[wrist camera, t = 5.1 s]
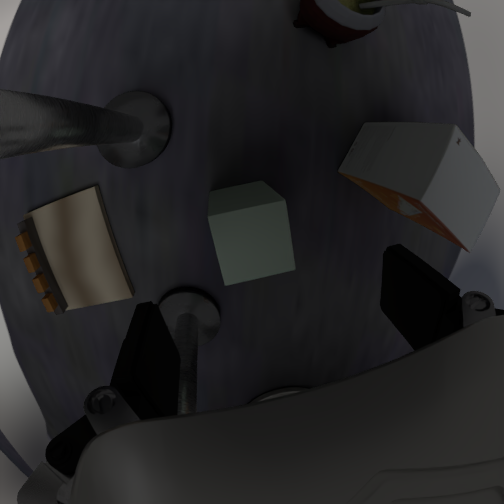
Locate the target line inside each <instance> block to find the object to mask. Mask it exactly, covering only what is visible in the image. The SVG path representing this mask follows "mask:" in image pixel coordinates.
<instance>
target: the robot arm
mask: <svg viewBox="0 0 504 504" xmlns="http://www.w3.org/2000/svg"><path fill="white" fill-rule="evenodd" d="M459 294H460V289H459V288H458V287H457V286H455V285H454V284H453V283H452V282H450V281H449V280H448V279H447V278H445V277H444V276H443V275H442V274H440V273H439V272H438V271H436V270H435V269H434V268H432V267H431V266H430V265H428V264H427V263H426V262H424V261H423V260H422V259H420V258H419V257H418V256H416V255H415V254H414V253H412V252H411V251H409V250H408V249H407V248H405V247H404V246H402V245H401V244H396V245H392V246H389V247H387V248H386V251H384V253H383V271H382V287H381V300H380V306H381V309H382V311H383V312H384V314H385V315H386V316H387V317H388V318H389V319H390V321H391V322H392V323H393V324H394V326H395V327H396V328H397V329H398V330H399V332H400V333H401V334H402V335H403V337H404V338H405V339H406V340H407V342H408V343H409V344H410V345H411V347H412V348H413V349H414V350H415V351H413V352H411V353H409V354H406V355H404V356H402V357H399V358H397V359H394V360H392V361H390V362H387V363H384V364H382V365H379V366H377V367H374V368H371V369H369V370H366V371H363V372H361V373H358V374H355V375H352V376H349V377H346V378H343V379H340V380H337V381H334V382H331V383H328V384H324V385H321V386H318V387H314V388H311V389H307V388H301V387H289V388H281V389H277V390H273V391H270V392H268V393H265V394H263V395H261V396H259V397H257V398H256V399H254V400H253V401H252V402H250V403H249V404H244V405H239V406H233V407H228V408H222V409H216V410H210V411H203V412H197V413H189V414H182V415H177V414H178V395H179V379H180V365H181V358H180V354H179V351H178V349H177V347H176V345H175V343H174V341H173V338H172V336H171V334H170V332H169V330H168V327H167V325H166V323H165V320H164V318H163V316H162V314H161V311H160V309H159V307H158V305H157V304H153V303H152V302H151V301H150V302H145V303H140V304H137V306H136V309H135V312H134V314H133V317H132V320H131V323H130V326H129V329H128V332H127V335H126V338H125V339H124V341H123V344H122V347H121V350H120V353H119V356H118V359H117V362H116V366H115V369H114V372H113V376H112V379H111V383H110V386H101V387H98V388H96V389H94V390H93V391H91V392H90V393H89V394H88V395H87V397H86V398H85V401H84V406H83V408H84V412H85V414H86V415H84V416H83V417H82V418H80V419H79V420H78V421H76V422H75V423H74V424H72V425H71V426H70V427H68V428H67V429H66V430H64V431H63V432H62V433H60V434H59V435H58V436H56V437H55V438H53V439H52V440H51V441H50V442H49V444H48V446H47V448H46V459H47V461H46V463H43V462H41V463H40V464H39V465H38V467H37V468H36V469H35V471H34V472H33V473H32V475H31V476H30V477H29V478H28V480H27V481H26V483H25V484H24V485H23V486H22V488H21V489H20V490H19V492H18V496H17V501H18V504H504V310H501V309H495V308H494V303H493V301H492V299H491V298H490V297H489V296H488V295H486V294H484V293H482V292H478V291H470V292H467V293H465V294H464V295H463V297H460V296H459Z"/></svg>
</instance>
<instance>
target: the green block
mask: <svg viewBox="0 0 504 504" xmlns="http://www.w3.org/2000/svg"><path fill="white" fill-rule="evenodd" d="M208 221H209V225H210V229H211V233H212V237H213V241H214V245H215V249H216V253H217V257H218V261H219V264H220V268H221V272H222V276H223V280H224V284H225V286H226V285H231V284H235V283H240V282H244V281H249V280H253V279H258V278H262V277H266V276H271V275H275V274H279V273H283V272H288V271H292V270H295V262H294V255H293V247H292V240H291V233H290V226H289V219H288V213H287V206H286V200H285V199H284V198H282V197H281V196H280V195H279V194H278V193H277V192H275V191H274V190H273V189H272V188H271V187H270V186H268V185H267V184H266V183H265V182H264V181H257V182H252V183H247V184H242V185H237V186H233V187H228V188H223V189H219V190H214V191H210V192H209V204H208Z"/></svg>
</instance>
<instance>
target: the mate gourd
mask: <svg viewBox="0 0 504 504" xmlns="http://www.w3.org/2000/svg"><path fill="white" fill-rule="evenodd" d="M409 3H416V4H426V5H427V4H428V3H431V4H436V5H440V6H443V7H446V8H449V9H451V10H454V11H456V12H459V13H462V14H464V15H466V16H471V13H470V12H469V11H467V10H465V9H463V8H460V7H458V6H456V5H454V4H452V3H449V2H447V1H444V0H301V1H300V12H299V14H298V20H294V22H293V24H294V27H295V28H302V27H312V28H313V29H314V30H316V31H317V32H319V33H321V34H322V35H324V38H325V41H326V43H327V46H328V47H329V48H334V47H336V44H341V43H347V42H349V41H352V40H355V39H358V38H361V37H363V36H365V35H367V34H369V33H371V32H372V31H374V30H375V29H377V27H378V26H379V25H380V24H381V22H382V20H383V19H384V17H385V6H390V5H399V4H409Z"/></svg>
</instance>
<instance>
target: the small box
mask: <svg viewBox="0 0 504 504" xmlns="http://www.w3.org/2000/svg"><path fill="white" fill-rule="evenodd" d="M338 173H340V174H342V175H343V176H345V177H347V178H348V179H350V180H351V181H353V182H354V183H356V184H357V185H358V186H360V187H361V188H363V189H364V190H366V191H367V192H368V193H370V194H371V195H372V196H374V197H375V198H376V199H377V200H379V201H380V202H381V203H383V204H384V205H385V206H386V207H388V208H389V209H391V210H393V211H395V212H397V213H399V214H401V215H403V216H405V217H407V218H409V219H411V220H413V221H415V222H417V223H419V224H421V225H422V226H424V227H426V228H428V229H430V230H432V231H433V232H435V233H437V234H439V235H441V236H442V237H444V238H446V239H448V240H449V241H451V242H453V243H455V244H456V245H458V246H460V247H461V248H463V249H464V250H466V251H467V252H469V253H470V252H471V251H472V249H473V247H474V245H475V244H476V242H477V240H478V238H479V236H480V234H481V232H482V230H483V228H484V226H485V224H486V222H487V220H488V218H489V215H490V213H491V211H492V209H493V207H494V205H495V202H496V200H497V197H498V195H499V193H500V188H499V187H498V185H497V183H496V181H495V179H494V178H493V176H492V174H491V173H490V171H489V170H488V168H487V166H486V164H485V162H484V161H483V159H482V158H481V156H480V155H479V154H478V152H477V151H476V150H475V149H474V147H473V146H472V145H471V143H470V142H469V141H468V139H467V138H466V137H465V136H464V134H463V133H462V132H461V130H460V129H459V128H458V127H457V125H455V124H442V123H421V122H365V123H364V124H363V126H362V128H361V130H360V132H359V133H358V135H357V137H356V139H355V141H354V142H353V144H352V146H351V148H350V150H349V152H348V153H347V155H346V157H345V159H344V161H343V162H342V164H341V166H340V168H339V169H338Z"/></svg>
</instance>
